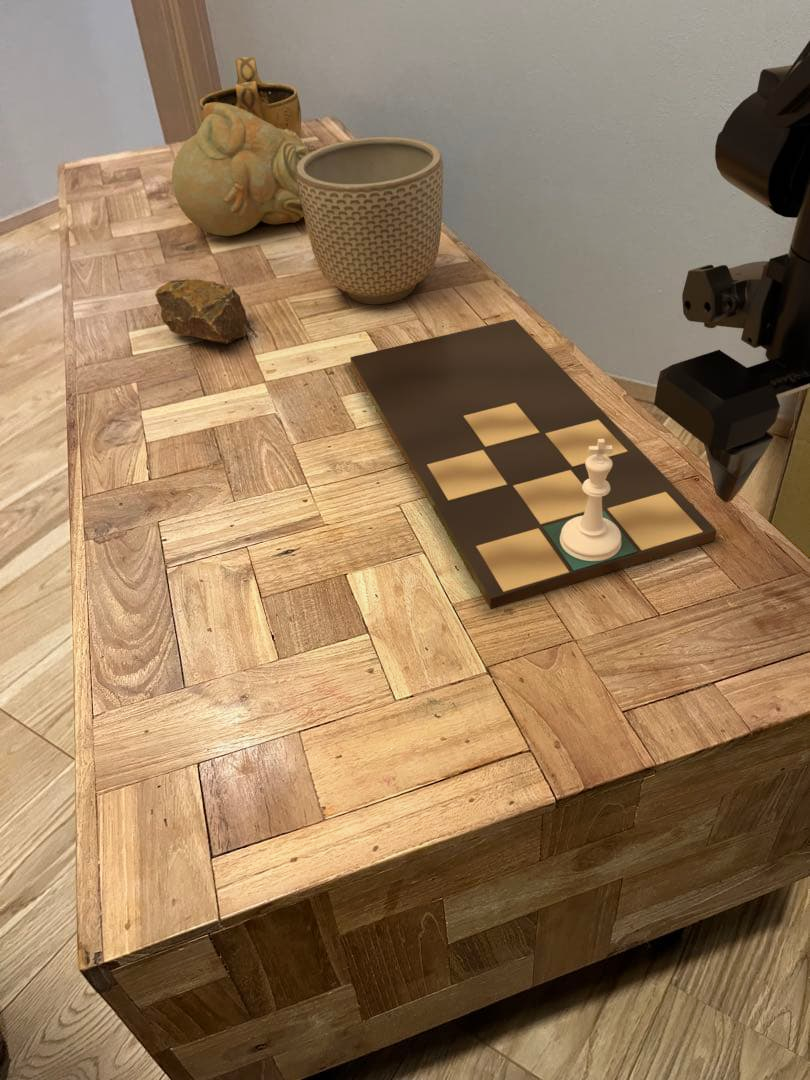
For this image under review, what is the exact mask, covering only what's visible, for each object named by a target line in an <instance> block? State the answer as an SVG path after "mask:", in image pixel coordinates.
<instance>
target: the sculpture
mask: <svg viewBox="0 0 810 1080" xmlns="http://www.w3.org/2000/svg"><path fill="white" fill-rule="evenodd" d="M203 112H204V118H205V119H204V121H203V122H201V124H200V125H199V128H198V130H197V132H196V134H194V135H192V136H191V137H190V138H189V139H187V140H186V141H185V142H184V143H183V145H182V146H181V147H180V149H179V150H178V152H177V154H176V156H175V159H174V162H173V165H172V173H171V175H172V176H171V181H172V182H171V183H172V189H173V193H174V196H175V197H174V198H175V199H176V202H177V205H178V206H179V208H180V209H181V211H182V212H183V214H184V216H186V218H188V219H189V220H190V222H191V223H192V224H194V225H195V226H196V227H198V228H199V229H200V230H201V229H202V230H203V231H205V232H206V233H210V234H213V235H215V236H223V237H224V236H226V237H229V236H231V237H232V236H237V235H241V234H244V233H246V232H249V231H250V230H252V229H253V228H255V227H256V226H257V225H258V224H259V223H260V222H261V223H264V224H267V225H274V226H277V225H282V224H288V223H290V224H294V223H297V222H299V221H300V219H303V218H304V214H303V210H302V205H301V201H300V197H299V192H298V187H297V180H296V167H297V164H298V163H299V161H300V160H301V159H302V158H303V157H305V156H306V155H308V154H309V153H311V152H310V151H309V149H308V148H307V146H306V144H305V143H304V142H303V140H302V139H301V138H300V136H299V137H298V136H297V135H296V133H295V132H293V131H291V130H289V129H285V130H281V129H279V128H276V127H275V126H273V125H272V124H270V123H268V122H266V121H263V120H262V119H260V118H258V117H257V116H255V115H253V114H252V113H249V112H247V111H246V110H243V109H240V108H238V107H236V106H232V105H229V104H225V103H219V102H212V103H208V104H207V103H206V104H205V106H204V110H203Z"/></svg>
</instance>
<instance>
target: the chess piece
mask: <svg viewBox="0 0 810 1080" xmlns="http://www.w3.org/2000/svg"><path fill="white" fill-rule="evenodd" d="M604 445H605V441H604V439H598V443H597V446H589V448H588V452H589V455H590V454H595V455H592V456H589V457H588V458H587V459H586V461H585V466H586V469H587V471H588V476H589V479H587V480H585V481H584V483H583V485H582V490H583V491H584V492H585V493H586V494H587V495H589V496H588V501H587V504H586V508H585V512H584V515H583V516H578V517H575V518H573V519H571V520H569V521H568V522H567V523H566V524H565V525H564V526H563V528H562V531H561V534H560V544H561V546H562V548H563V549H564V550H565V551H566V552H567V553H568V554H570V555H571V556H573V557H575V558H577V559H580V560H585V561H602V560H606V559H608V558H611V557H612V556H614V555H615V554H616V553H617V552H618V551H619V550H620V548H621V543H622V542H621V533H620V530H619V529H618V527H617V526H616V525H615V524H614V523H613V522H611V521H610V520H608V519H606V518H603V516H602V496H605V495H607V494H608V493H609V492H610V485H609V483H608V482H607V481H606V480H605V479H606V477H607V475H608V473H609V472H610V470H611V468H612V465H613V463H612V460H611V459H610V458H609V457H607V456H605V455H603V454H612V450H613V448H612V445H608V446H604Z"/></svg>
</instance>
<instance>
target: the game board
mask: <svg viewBox="0 0 810 1080" xmlns="http://www.w3.org/2000/svg"><path fill="white" fill-rule="evenodd" d="M349 358H350V366H351V368H352V370H353V372H354V373H355V375H356V377H357V379H358V380H359V382H360V384H361V385H362V387H363V390H364V391H365V393H366V394H367V396H368V398H369V400H370V402H371V403H372V405H373V407H374V408H375V410H376V412H377V414H378V415H379V417H380V419H381V420H382V422H383V424H384V425H385V428H386V430H387V431H388V432H389V435H390V436H391V438H392V440H393V441H394V443H395V445H396V447H397V448H398V450H399V452H400V453H401V456H402V457H403V459H404V460H405V462H406V464H407V466H408V467H409V470H410V471H411V473H412V474H413V476H414V478H415V480H416V482H417V483H418V485H419V487H420V489H421V490H422V492H423V494H424V496H425V498H426V499H427V501H428V503H429V504H430V506H431V508H432V509H433V511H434V513H435V514H436V516H437V518H438V520H439V522H440V523H441V525H442V527H443V529H444V530H445V532H446V534H447V536H448V538H449V539H450V541H451V543H452V545H453V546H454V548H455V549H456V551H457V553H458V556H459V557H460V558H461V560H462V562H463V564H464V565H465V567H466V569H467V571H468V573H469V574H470V576H471V578H472V579H473V581H474V583H475V585H476V586H477V588H478V590H479V592H480V593H481V595H482V597H483V598H484V600H485V602H486V604H487V605H488V607H489V609H493V608H497V607H500V606H503V605H507V604H510V603H513V602H517V601H520V600H524V599H526V598H530V597H532V596H533V597H534V596H537V595H540V594H543V593H547V592H550V591H553V590H557V589H560V588H564V587H566V586H569V585H572V584H576V583H580V582H583V581H587V580H589V579H593V578H596V577H599V576H602V575H603V576H604V575H606V574H609V573H612V572H616V571H619V570H622V569H626V568H628V567H633V566H636V565H639V564H642V563H645V562H648V561H652V560H655V559H658V558H662V557H665V556H669V555H672V554H675V553H678V552H682V551H686V550H689V549H691V548H695V547H699V546H702V545H705V544H708V543H712V542H715V539H716V536H717V532H718V531H717V529H716V528H715V526H713V524H711V523H710V521H709V520H707V519H706V517H704V515H703V514H701V512H700V511H699V510H698V509H697V508H696V507H695V506H694V505H693V504H692V503H691V502H690V501H689V500H688V498H687V497H686V496H685V495H684V494H683V493H682V492H681V491H680V490H679V489H678V488H677V487H676V486H675V485H674V484H673V483H672V482H671V481H670V480H669V479H668V477H667V476H665V474H663V472H662V471H661V470H660V469H659V468H658V467H657V466H656V465H655V464H654V463H653V462H652V461H651V460H650V459H649V458H648V457H647V455H645V454H644V452H643V451H641V450H640V448H639V447H638V446H637V445H635V443H634V442H633V440H631V439H630V438H629V437H628V436H627V434H625V433H624V432H623V431H622V430H621V429H620V428H619V427H618V425H617V424H616V423H615V422H614V421H613V420H612V419H611V418H610V416H608V415H607V414H606V412H604V411H603V410H602V409H601V407H599V406H598V404H596V402H595V401H594V400H593V399H592V398H591V397H590V396H589V395H588V393H586V392H585V391H584V390H583V389H582V387H581V386H579V384H578V383H577V382H576V381H575V380H574V379H573V378H572V377H571V376H570V375H569V374H568V373H567V372H566V370H564V369H563V368H562V367H561V366H560V365H559V364H558V363H557V362H556V361H555V360H554V359H553V357H552V356H551V355H550V354H549V353H548V352H547V351H546V350H545V349H544V348H543V347H542V346H541V345H540V344H539V343H538V342H537V341H536V340H535V338H534V337H533V336H532V335H531V334H530V333H529V332H528V331H527V330H526V329H525V328H524V327H523V326H522V325H521V324H520V323H519V322H518V321H517V320H516V319H515V318H513V319H508V320H504V321H500V322H495V323H491V324H487V325H483V326H478V327H474V328H469V329H466V330H462V331H457V332H452V333H447V334H443V335H440V336H435V337H431V338H427V339H422V340H418V341H414V342H409V343H405V344H401V345H396V346H392V347H388V348H384V349H379V350H375V351H371V352H366V353H362V354H357V355H354V356H350V357H349ZM598 439H604V441H605V445H604V446H608V445H612V448H613V450H612V454H603V455H605V456H607V457H609V458H610V459H611V460H612V463H613V465H612V468H611V470H610V472H609V473H608V475H607V477H606V479H605V480H606V481H607V482H608V483H609V485H610V492H609V493H608V494H607V495H605V496H602V516H603V518H606V519H608V520H610V521H611V522H613V523H614V524H615V525H616V526H617V527H618V529H619V530H620V533H621V542H622V543H621V548H620V550H619V551H618V552H617V553H616V554H615V555H614V556H612V557H611V558H608V559H606V560H602V561H585V560H580V559H577V558H575V557H573V556H571V555H570V554H568V553H567V552H566V551H565V550H564V549H563V548H562V546H561V544H560V534H561V531H562V528H563V526H564V525H565V524H566V523H567V522H568V521H569V520H571V519H573V518H575V517H578V516H583V515H584V512H585V508H586V504H587V501H588V496H589V495H587V494H586V493H585V492H584V491H583V490H582V485H583V483H584V481H585V480H587V479H589V476H588V471H587V469H586V466H585V461H586V459H587V458H588V457H589V456H592V455H595V454H590V455H589V452H588V448H589V446H597V443H598Z"/></svg>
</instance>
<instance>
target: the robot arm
mask: <svg viewBox="0 0 810 1080" xmlns="http://www.w3.org/2000/svg"><path fill="white" fill-rule="evenodd" d="M756 89H757V90H756V91H755V92H753V93H751V94H750V95H749V96H748V97H746V98H744V99H743V100H742V101H741V102H740V103H739V104H738V106H736V108H734V110H733V111H732V113H731V114H730V115H729V116H728V118H727V119H726V121H725V122H724V125H723V127H722V130H721V131H720V132H719V133H718V135H717V136H716V140H715V141H716V142H715V145H714V147H715V148H714V159H715V164H716V168H717V170H718V172H719V174H720V176H721V177H722V178H723V179H724V180H725V181H726V182H727V183H729V184H730V185H732V186H734V187H735V188H736V189H738V190H740V191H741V192H742V193H744V194H745V195H747V196H748V197H750V198H751V199H753V200H755V201H757V202H758V203H760V204H761V205H763V206H764V207H766V208H767V209H768V210H769V211H771V212H773V213H774V214H777V215H778V216H781V217H783V218H792V219H796V221H795V225H794V229H793V234H792V238H791V241H790V245H789V249H788V252H787V253H785V254H781V255H778V256H775V257H771V258H769V260H761V261H752V262H748V263H744V264H743V263H742V264H740V265H737V266H733V267H729V266H728V265H726V264H721V265H717V266H714V265H713V264H707V265H703V266H699V267H696V268H692V269H689V270H688V271H687V275H686V279H685V282H684V287H683V291H682V295H681V300H682V301H681V302H682V312H683V316H684V317H685V318H686V319H687V321H688V322H694V323H701V324H703V326H704V327H705V328H707V329H715V328H716V327H725V328H733V329H742V334H741V337H740V340H741V341H742V342H743V343H745V344H747V345H749V346H750V347H752V348H753V349H757V348H760V347H761V348H763V349H764V350H765V354H764V355H765V358H766V359H767V361H766V360H765V361H762V362H759V363H757V364H754V365H751V366H748V367H747V366H745V365H744V364H742V363H741V362H739V361H737V360H736V359H734V358H733V357H732V356H730V355H728V354H727V353H725V352H723V351H722V350H720V349H717V350H714V351H710V352H707V353H704V354H701V355H698V356H694V357H692V358H689V359H685V360H683V361H679V362H676V363H673V364H671V365H669V366H667V367H665V368H664V369H662V370H659V375H658V378H657V384H656V389H655V396H654V402H653V405H654V406H655V407H656V408H658V410H660V411H661V412H663V413H664V414H665V415H666V416H667V417H669V418H670V419H671V420H673V421H674V422H675V423H677V425H679V426H680V427H682V429H684V430H685V431H687V432H688V433H689V434H690V435H692V436H693V437H695V438H696V439H697V440H699V441H700V442H701V443H702V444H703V445H704V450H705V453H706V457H707V463H708V467H709V470H710V475H711V479H712V480H711V481H712V483H713V488H714V492H715V495H716V496H717V497H718V498H719V499H720V500H722V501H723V502H724V503H725V504H727V503H730V502H732V501H733V500H734V499H735V497H736V496H737V495H738V493H739V492H740V491H741V489H742V488H743V486H745V483H746V482H747V480H748V479H749V477H750V475H751V474H752V472H753V471H754V470H755V468H756V467H757V465H758V464H759V462H760V460H761V458H763V455H764V454H765V453H766V451H767V449H768V448H769V446H770V445H771V443H772V442H773V440H774V436H773V435H772V434H771V433H769V432H768V431H769V430H770V429H771V428H772V427H773V425H775V423H776V422H777V418H778V415H779V411H780V407H781V405H780V402H779V400H778V399H780V398H784V397H787V396H789V395H793V394H796V393H798V392H801V391H803V390H806V389H810V40H808V42H807V43H806V45H805V46H804V48H803V49H802V50H801V52H800V54H799V55H798V56H797V58H796V59H795V61H794V62H793V63H792V64H790V65H789V64H788V65H782V66H776V67H769V68H763V69H762V70H761V72H760V74H759V79H758V84H757V88H756Z"/></svg>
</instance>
